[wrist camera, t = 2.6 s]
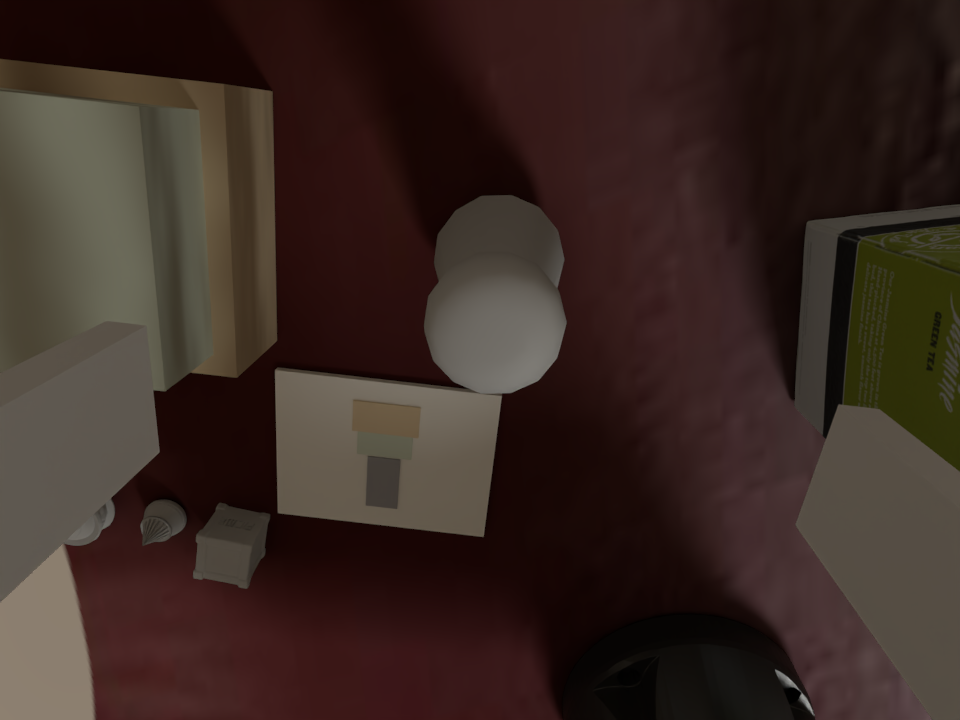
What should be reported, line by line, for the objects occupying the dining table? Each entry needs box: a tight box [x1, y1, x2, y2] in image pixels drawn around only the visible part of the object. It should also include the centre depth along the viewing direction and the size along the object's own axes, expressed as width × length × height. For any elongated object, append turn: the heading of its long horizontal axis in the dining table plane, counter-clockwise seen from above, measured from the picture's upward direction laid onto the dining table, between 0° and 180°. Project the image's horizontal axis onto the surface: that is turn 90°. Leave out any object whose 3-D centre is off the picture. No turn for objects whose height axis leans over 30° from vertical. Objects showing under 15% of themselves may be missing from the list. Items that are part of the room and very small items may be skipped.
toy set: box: [64, 498, 270, 589], centre depth 35 cm, size 12×3×4 cm, turn 77°
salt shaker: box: [424, 195, 567, 394], centre depth 23 cm, size 6×6×13 cm
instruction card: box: [275, 367, 502, 537], centre depth 34 cm, size 12×9×1 cm
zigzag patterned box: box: [0, 59, 277, 391], centre depth 25 cm, size 12×12×9 cm
